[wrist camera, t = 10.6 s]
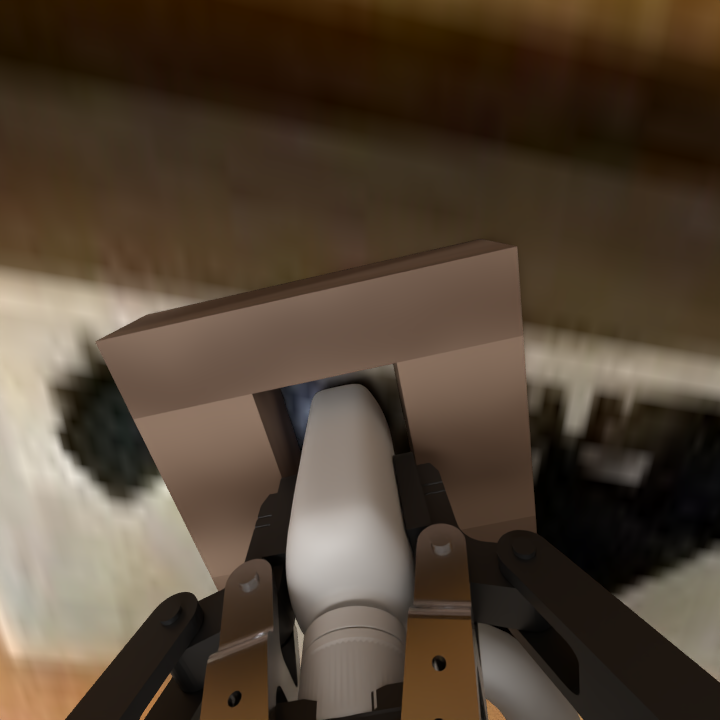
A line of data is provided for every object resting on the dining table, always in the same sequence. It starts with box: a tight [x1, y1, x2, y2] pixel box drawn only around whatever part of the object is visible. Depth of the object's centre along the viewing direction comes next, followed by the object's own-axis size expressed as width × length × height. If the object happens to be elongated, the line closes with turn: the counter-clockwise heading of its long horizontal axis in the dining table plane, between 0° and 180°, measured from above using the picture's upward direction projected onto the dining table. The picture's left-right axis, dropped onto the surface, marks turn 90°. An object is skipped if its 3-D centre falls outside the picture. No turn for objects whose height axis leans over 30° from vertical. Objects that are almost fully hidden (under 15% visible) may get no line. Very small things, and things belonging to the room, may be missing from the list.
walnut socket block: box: [96, 239, 537, 591], centre depth 17 cm, size 14×14×4 cm
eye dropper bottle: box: [286, 384, 416, 720], centre depth 12 cm, size 4×6×12 cm
